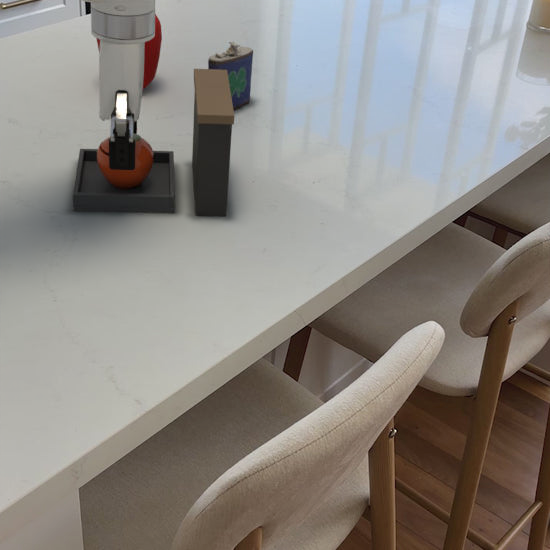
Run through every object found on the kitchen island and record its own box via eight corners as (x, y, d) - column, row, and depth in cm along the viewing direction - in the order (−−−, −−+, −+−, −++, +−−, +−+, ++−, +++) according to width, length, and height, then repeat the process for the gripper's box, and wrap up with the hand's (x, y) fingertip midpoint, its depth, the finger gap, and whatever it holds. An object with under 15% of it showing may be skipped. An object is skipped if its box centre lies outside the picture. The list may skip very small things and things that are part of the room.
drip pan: (73, 211, 112) (72, 194, 111) (80, 164, 123) (80, 148, 121) (174, 212, 114) (174, 196, 113) (173, 166, 124) (173, 151, 123)
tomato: (90, 173, 119) (88, 118, 115) (144, 166, 122) (144, 112, 117) (105, 199, 114) (104, 143, 109) (161, 191, 116) (162, 136, 112)
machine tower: (193, 216, 114) (197, 114, 106) (190, 164, 125) (193, 68, 117) (228, 217, 114) (234, 115, 106) (221, 164, 126) (227, 69, 118)
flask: (242, 97, 146) (246, 33, 140) (255, 103, 145) (260, 39, 138) (202, 112, 140) (205, 46, 134) (215, 118, 139) (219, 52, 132)
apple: (94, 74, 149) (92, -7, 141) (155, 73, 151) (156, -7, 144) (100, 100, 140) (98, 15, 133) (165, 98, 143) (166, 15, 135)
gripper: (95, -3, 112) (97, 122, 122) (86, 45, 98) (89, 182, 107) (155, 0, 113) (153, 124, 123) (154, 49, 99) (152, 184, 108)
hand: (123, 151), depth 115 cm, fingers open, 9 cm apart
